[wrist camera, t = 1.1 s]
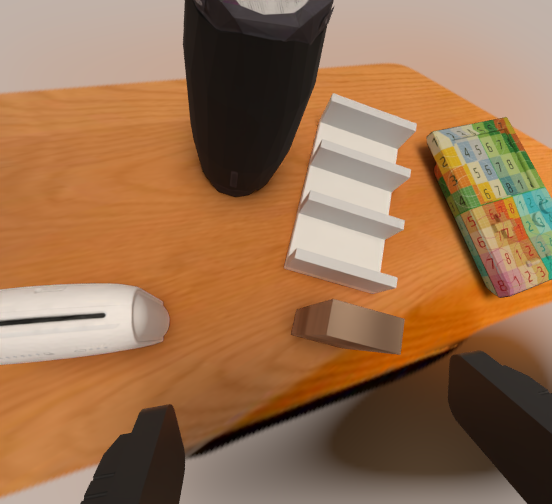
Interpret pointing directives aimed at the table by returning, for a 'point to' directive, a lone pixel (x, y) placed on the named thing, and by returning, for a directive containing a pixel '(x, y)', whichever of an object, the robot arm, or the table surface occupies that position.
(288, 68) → the portable speaker
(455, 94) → the table surface
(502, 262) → the puzzle game
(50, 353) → the photo printer
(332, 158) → the slotted rack
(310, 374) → the table surface
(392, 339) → the walnut block
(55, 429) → the table surface
